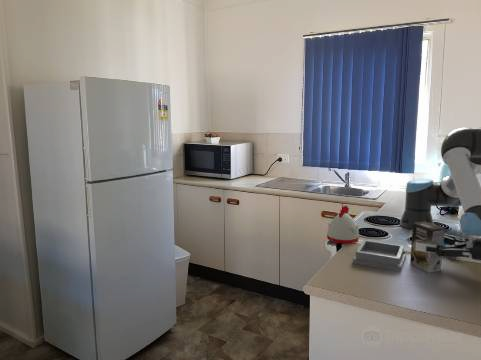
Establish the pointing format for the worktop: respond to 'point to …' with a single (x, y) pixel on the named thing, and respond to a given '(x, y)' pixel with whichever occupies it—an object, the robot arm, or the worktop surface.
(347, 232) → the kitchen timer
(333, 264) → the worktop surface
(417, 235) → the coffee box
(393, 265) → the housing
